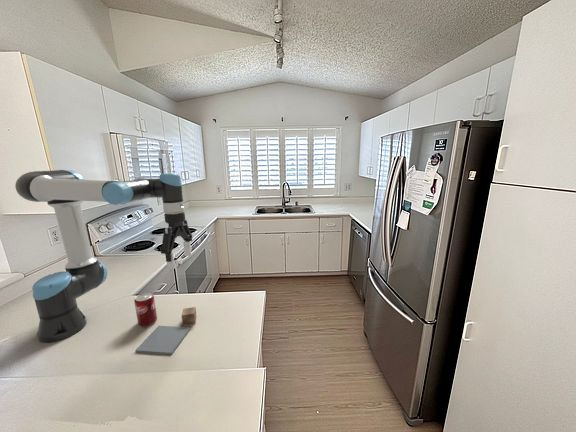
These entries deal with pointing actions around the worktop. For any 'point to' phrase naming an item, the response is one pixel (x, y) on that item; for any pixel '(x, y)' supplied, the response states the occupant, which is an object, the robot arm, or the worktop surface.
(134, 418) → the worktop surface
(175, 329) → the coaster
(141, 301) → the soda can
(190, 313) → the walnut block
